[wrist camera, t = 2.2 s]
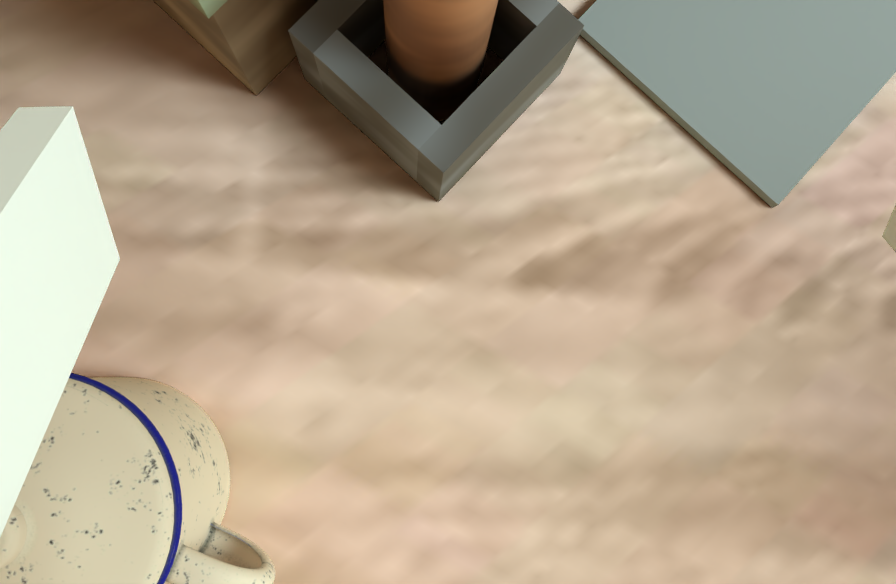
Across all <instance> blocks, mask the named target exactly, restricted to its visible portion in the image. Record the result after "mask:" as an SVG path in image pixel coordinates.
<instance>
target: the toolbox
mask: <svg viewBox="0 0 896 584" xmlns="http://www.w3.org/2000/svg"><path fill="white" fill-rule="evenodd" d="M153 1H154V2H155V3H156V4H157V5H159V6H160V7H161V8H162V9H163V10H164V11H165V12H166V13H167V14H168V15H169V16H170V17H172V18H173V19H174V20H175V21H176V22H177V23H178V24H179V25H180V26H181V27H182V28H183V29H185V30H186V31H187V32H188V33H189V34H190V35H191V36H192V37H193V38H194V39H195V40H196V41H198V42H199V43H200V44H201V45H202V46H203V47H204V48H205V49H206V50H207V51H208V52H209V53H211V54H212V55H213V56H214V57H215V58H216V59H217V60H218V61H219V62H220V63H221V64H222V65H224V66H225V67H226V68H227V69H228V70H229V71H230V72H231V73H232V74H233V75H234V76H236V77H237V78H238V79H239V80H240V81H241V82H242V83H243V84H244V85H245V86H246V87H247V88H249V89H250V90H251V91H252V92H253V93H254V94H255V95H256V96H257V95H258V94H259V93H260V92H261V91H262V90H263V89H264V88H265V87H266V86H267V85H268V84H269V83H270V82H271V81H272V80H273V79H274V78H275V77H276V76H277V75H278V74H279V73H280V72H281V71H282V70H283V69H284V68H285V67H286V66H287V65H288V64H289V63H290V62H291V61H292V60H293V59H294V58H295V57H296V56H297V58H298V61H299V63H300V66H301V69H302V72H303V75H304V78H305V80H306V81H307V82H309V83H310V84H311V85H312V86H313V87H314V88H315V89H316V90H317V91H318V92H319V93H321V94H322V95H323V96H324V97H325V98H326V99H327V100H328V101H329V102H330V103H331V104H333V105H334V106H335V107H336V108H337V109H338V110H339V111H340V112H341V113H342V114H343V115H344V116H346V117H347V118H348V119H349V120H350V121H351V122H352V123H353V124H354V125H355V126H356V127H358V128H359V129H360V130H361V131H362V132H363V133H364V134H365V135H366V136H367V137H368V138H370V139H371V140H372V141H373V142H374V143H375V144H376V145H377V146H378V147H379V148H380V149H381V150H383V151H384V152H385V153H386V154H387V155H388V156H389V157H390V158H391V159H392V160H393V161H395V162H396V163H397V164H398V165H399V166H400V167H401V168H402V169H403V170H404V171H405V172H407V173H408V174H409V175H410V176H411V177H412V178H413V179H414V180H415V181H416V182H417V183H419V184H420V185H421V186H422V187H423V188H424V189H425V190H426V191H427V192H428V193H429V194H430V195H432V196H433V197H434V198H435V199H436V200H437V201H438V202H439V201H440V200H441V199H442V198H443V197H444V195H445V194H446V193H447V192H448V191H449V190H450V189H451V188H452V187H453V186H454V185H455V184H456V183H457V182H458V181H459V180H460V179H461V178H462V177H463V175H464V174H465V173H466V172H467V171H468V170H469V169H470V168H471V167H472V166H473V165H474V164H475V163H476V162H477V161H478V160H479V159H480V158H481V156H482V155H483V154H484V153H485V152H486V151H487V150H488V149H489V148H490V147H491V146H492V145H493V144H494V143H495V142H496V141H497V140H498V139H499V138H500V136H501V135H502V134H503V133H504V132H505V131H506V130H507V129H508V128H509V127H510V126H511V125H512V124H513V123H514V122H515V121H516V120H517V119H518V117H519V116H520V115H521V114H522V113H523V112H524V111H525V110H526V109H527V108H528V107H529V106H530V105H531V104H532V103H533V102H534V101H535V100H536V99H537V97H538V96H539V95H540V94H541V93H542V92H543V91H544V90H545V89H546V88H547V87H548V86H549V85H550V84H551V83H552V82H553V81H554V80H555V78H556V77H557V76H558V75H559V74H560V73H561V71H562V69H563V67H564V65H565V63H566V61H567V59H568V57H569V55H570V53H571V51H572V49H573V47H574V45H575V43H576V41H577V39H578V37H579V35H580V33H581V31H582V29H583V27H584V25H583V24H582V23H581V22H580V21H579V20H578V19H577V18H576V17H575V16H573V15H572V14H571V13H570V12H569V11H568V10H567V9H566V8H565V7H563V6H562V5H561V4H560V3H559V2H558V1H557V0H498V3H497V7H496V12H495V16H494V20H493V24H492V28H491V32H490V36H489V41H488V45H487V46H488V47H489V48H490V49H491V50H492V51H493V52H494V53H496V54H497V55H498V56H499V57H500V58H501V59H502V60H503V62H502V63H501V64H500V65H499V66H498V67H497V68H496V69H495V70H494V71H493V72H492V73H491V74H490V75H489V76H488V77H487V79H486V80H485V81H484V82H483V83H482V84H481V85H480V86H479V87H478V88H477V89H476V90H475V91H474V92H473V93H472V94H471V95H470V96H469V97H468V98H467V99H466V100H465V101H464V102H463V103H462V104H461V106H460V107H459V108H458V109H457V110H456V111H455V112H454V113H453V114H452V115H451V116H450V117H449V118H448V119H447V120H446V121H445V122H444V123H443V124H442V125H441V124H440V123H439V122H438V121H437V120H435V119H434V118H433V117H432V116H431V115H430V114H429V113H428V112H427V111H426V110H425V109H423V108H422V107H421V106H420V105H419V104H418V103H417V102H416V101H415V100H414V99H413V98H411V97H410V96H409V95H408V94H407V93H406V92H405V91H404V90H403V89H402V88H400V87H399V86H398V85H397V84H396V83H395V82H394V81H393V80H392V79H391V78H390V77H388V76H387V75H386V74H385V73H384V72H383V71H382V70H381V69H380V68H379V67H378V66H376V65H375V64H374V63H373V62H372V61H371V60H370V59H369V58H368V57H369V56H370V55H371V54H372V52H373V51H374V50H375V49H376V48H377V47H378V46H379V45H380V44H381V43H382V42H383V41H384V40H385V39H386V35H385V19H384V4H383V0H153Z"/></svg>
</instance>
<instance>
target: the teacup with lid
mask: <svg viewBox="0 0 896 584" xmlns="http://www.w3.org/2000/svg"><path fill="white" fill-rule="evenodd" d="M229 491H230V468H229V461H228V456H227V452H226V449H225V445H224V443H223V440H222V438H221V436H220V434H219V432H218V430H217V428H216V426H215V425H214V423H213V422H212V420H211V419H210V417H209V416H208V415H207V414H206V413H205V411H204V410H203V409H202V408H201V407H200V406H199V405H198V404H197V403H196V402H194V401H193V400H192V399H191V398H189V397H188V396H186V395H185V394H183V393H182V392H180V391H178V390H176V389H174V388H172V387H170V386H168V385H165V384H163V383H160V382H157V381H153V380H149V379H143V378H133V377H85V376H81V375H77V374H74V373H71V374H70V376H69V379H68V381H67V383H66V386H65V388H64V390H63V393H62V395H61V397H60V400H59V402H58V404H57V407H56V409H55V411H54V413H53V416H52V418H51V420H50V423H49V425H48V427H47V430H46V432H45V434H44V437H43V439H42V441H41V444H40V446H39V448H38V451H37V453H36V455H35V458H34V460H33V462H32V465H31V467H30V469H29V472H28V474H27V476H26V479H25V481H24V483H23V486H22V488H21V490H20V493H19V495H18V497H17V500H16V502H15V504H14V507H13V509H12V511H11V514H10V516H9V518H8V520H7V523H6V525H5V527H4V530H3V532H2V534H1V537H0V584H169V583H170V584H273V582H274V579H275V568H274V565H273V563H272V561H271V560H270V558H269V557H268V556H267V554H266V553H265V552H264V551H263V550H262V549H261V548H259V547H258V546H257V545H256V544H254V543H253V542H251V541H250V540H248V539H247V538H245V537H243V536H241V535H240V534H238V533H236V532H234V531H232V530H230V529H228V528H226V527H223V526H221V525H220V524H221V522H222V520H223V517H224V514H225V511H226V507H227V503H228V498H229Z"/></svg>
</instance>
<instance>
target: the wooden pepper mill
mask: <svg viewBox="0 0 896 584" xmlns="http://www.w3.org/2000/svg"><path fill="white" fill-rule="evenodd" d="M497 3H498V0H383V4H384V19H385V35H386V50H387V65H388V77H390V78H391V79H392V80H393V81H394V82H395V83H396V84H397V85H398V86H399V87H400V88H402V89H403V90H404V91H405V92H406V93H407V94H408V95H409V96H410V97H411V98H413V99H414V100H415V101H416V102H417V103H418V104H419V105H420V106H421V107H422V108H423V109H425V110H426V111H427V112H428V113H429V114H430V115H431V116H432V117H433V118H434V119H435V120H443V119H447V118H449V117H450V116H451V115H452V114H453V113H454V112H455V111H456V110H457V109H458V108H459V107H460V106H461V104H462V103H463V102H464V101H465V100H466V99H467V98H468V97H469V96H470V95H471V94H472V93H473V92H474V91H475V90H476V89H477V86H478V82H479V78H480V74H481V70H482V66H483V61H484V57H485V53H486V49H487V45H488V41H489V36H490V32H491V28H492V24H493V20H494V16H495V12H496V7H497Z"/></svg>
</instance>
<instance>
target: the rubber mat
mask: <svg viewBox="0 0 896 584" xmlns="http://www.w3.org/2000/svg"><path fill="white" fill-rule="evenodd" d="M578 20H579V21H580V22H581V23H582V24H583V25H584V27H583V29H582V31H581V33H580V35H581V36H582V37H583V38H584V39H585V40H586V41H588V42H589V43H590V44H591V45H592V46H593V47H594V48H595V49H596V50H598V51H599V52H600V53H601V54H602V55H603V56H604V57H605V58H606V59H608V60H609V61H610V62H611V63H612V64H613V65H614V66H615V67H616V68H618V69H619V70H620V71H621V72H622V73H623V74H624V75H625V76H626V77H628V78H629V79H630V80H631V81H632V82H633V83H634V84H635V85H636V86H638V87H639V88H640V89H641V90H642V91H643V92H644V93H645V94H646V95H648V96H649V97H650V98H651V99H652V100H653V101H654V102H655V103H656V104H657V105H659V106H660V107H661V108H662V109H663V110H664V111H665V112H666V113H667V114H669V115H670V116H671V117H672V118H673V119H674V120H675V121H676V122H677V123H679V124H680V125H681V126H682V127H683V128H684V129H685V130H686V131H687V132H689V133H690V134H691V135H692V136H693V137H694V138H695V139H696V140H697V141H699V142H700V143H701V144H702V145H703V146H704V147H705V148H706V149H707V150H709V151H710V152H711V153H712V154H713V155H714V156H715V157H716V158H717V159H718V160H720V161H721V162H722V163H723V164H724V165H725V166H726V167H727V168H728V169H730V170H731V171H732V172H733V173H734V174H735V175H736V176H737V177H738V178H740V179H741V180H742V181H743V182H744V183H745V184H746V185H747V186H748V187H750V188H751V189H752V190H753V191H754V192H755V193H756V194H757V195H758V196H760V197H761V198H762V199H763V200H764V201H765V202H766V203H767V204H768V205H770V206H771V207H772V208H773V207H775V206H777V205H779V204H780V202H781V201H782V200H783V199H784V198H785V197H786V196H787V195H788V193H789V192H790V191H791V190H792V189H793V188H794V187H795V185H796V184H797V183H798V182H799V181H800V180H801V179H802V178H803V176H804V175H805V174H806V173H807V172H808V171H809V170H810V168H811V167H812V166H813V165H814V164H815V163H816V162H817V161H818V159H819V158H820V157H821V156H822V155H823V154H824V153H825V151H826V150H827V149H828V148H829V147H830V146H831V145H832V144H833V142H834V141H835V140H836V139H837V138H838V137H839V136H840V134H841V133H842V132H843V131H844V130H845V129H846V128H847V127H848V125H849V124H850V123H851V122H852V121H853V120H854V119H855V117H856V116H857V115H858V114H859V113H860V112H861V111H862V110H863V108H864V107H865V106H866V105H867V104H868V103H869V102H870V100H871V99H872V98H873V97H874V96H875V95H876V94H877V93H878V91H879V90H880V89H881V88H882V87H883V86H884V85H885V83H886V82H887V81H888V80H889V79H890V78H891V77H892V76H893V74H894V73H895V72H896V0H596V1H595V2H594V4H593V5H592V6H591V7H590V8H589V9H588V10H587V11H586V12H585V13H584V14H583V15H582V16H581V17H580V18H579V19H578Z"/></svg>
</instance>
